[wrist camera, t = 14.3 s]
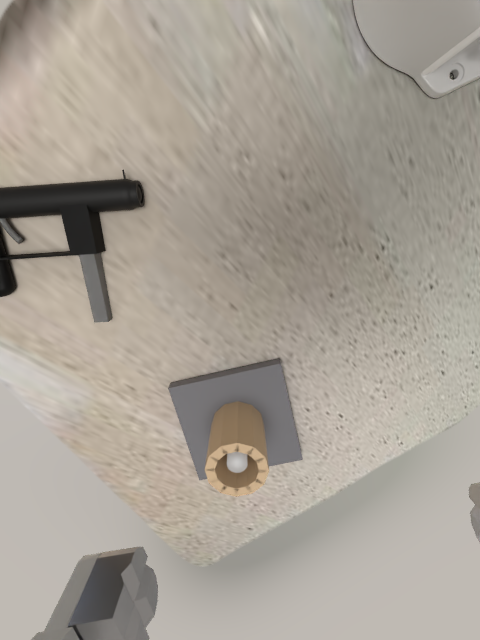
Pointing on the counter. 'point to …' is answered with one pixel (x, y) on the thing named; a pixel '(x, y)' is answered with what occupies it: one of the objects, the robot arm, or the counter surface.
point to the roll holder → (232, 386)
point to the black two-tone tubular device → (71, 226)
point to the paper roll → (237, 449)
